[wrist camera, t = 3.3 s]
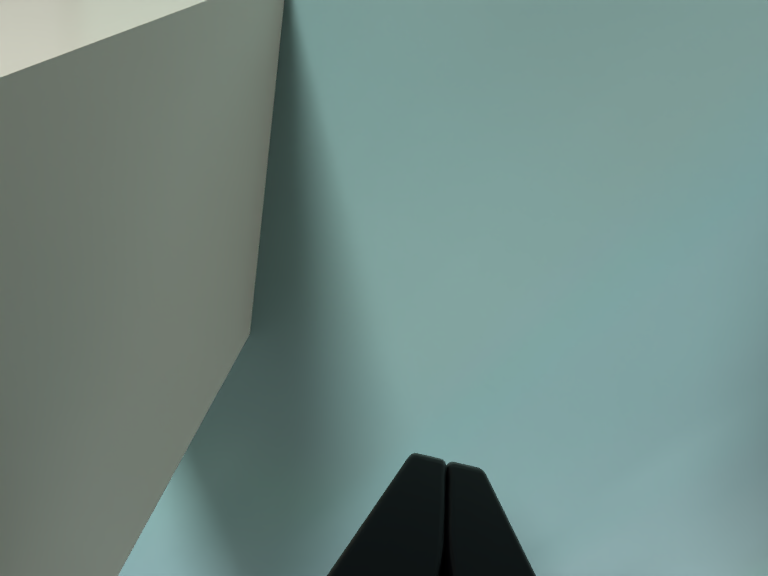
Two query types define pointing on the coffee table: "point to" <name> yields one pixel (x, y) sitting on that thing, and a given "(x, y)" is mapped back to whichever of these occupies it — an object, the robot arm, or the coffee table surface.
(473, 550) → the robot arm
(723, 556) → the coffee table surface
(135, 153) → the cream rectangular block
